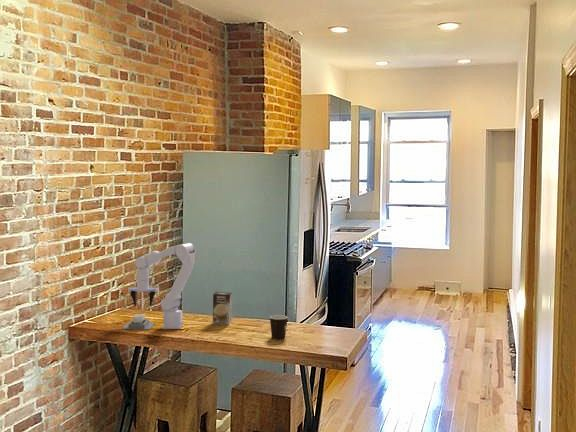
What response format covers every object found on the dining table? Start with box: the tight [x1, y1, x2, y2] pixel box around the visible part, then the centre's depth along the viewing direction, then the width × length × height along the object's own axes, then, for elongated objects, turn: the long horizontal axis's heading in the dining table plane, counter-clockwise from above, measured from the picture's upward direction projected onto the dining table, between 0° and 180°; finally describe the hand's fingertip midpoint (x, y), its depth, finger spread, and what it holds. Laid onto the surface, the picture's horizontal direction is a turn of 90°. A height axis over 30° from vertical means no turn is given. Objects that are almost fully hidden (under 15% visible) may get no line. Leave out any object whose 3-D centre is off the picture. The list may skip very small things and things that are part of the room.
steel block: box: [132, 313, 146, 324], centre depth 332 cm, size 7×4×5 cm, turn 0°
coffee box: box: [211, 291, 233, 326], centre depth 341 cm, size 9×6×16 cm
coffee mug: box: [269, 314, 288, 340], centre depth 314 cm, size 12×9×10 cm
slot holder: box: [121, 318, 156, 331], centre depth 332 cm, size 14×13×2 cm
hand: (143, 305), depth 337 cm, fingers open, 7 cm apart
